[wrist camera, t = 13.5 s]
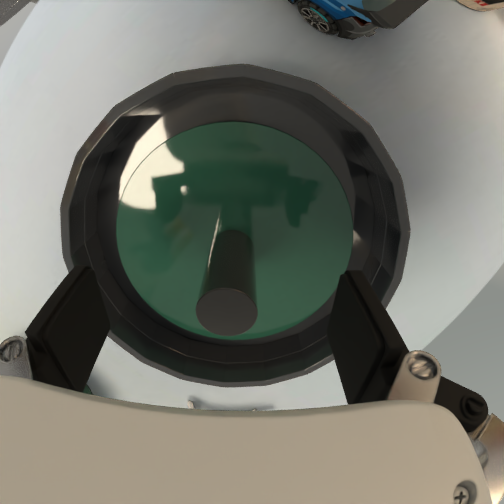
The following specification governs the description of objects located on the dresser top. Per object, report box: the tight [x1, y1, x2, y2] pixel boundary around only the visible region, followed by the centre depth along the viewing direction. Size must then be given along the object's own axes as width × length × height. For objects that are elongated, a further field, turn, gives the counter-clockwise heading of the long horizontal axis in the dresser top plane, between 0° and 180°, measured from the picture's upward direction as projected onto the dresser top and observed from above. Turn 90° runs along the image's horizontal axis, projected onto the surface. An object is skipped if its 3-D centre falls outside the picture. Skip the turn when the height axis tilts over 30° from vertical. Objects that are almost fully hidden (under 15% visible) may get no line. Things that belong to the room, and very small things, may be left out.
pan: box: [60, 64, 410, 387], centre depth 15 cm, size 18×18×4 cm
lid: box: [116, 121, 353, 340], centre depth 14 cm, size 14×14×7 cm
